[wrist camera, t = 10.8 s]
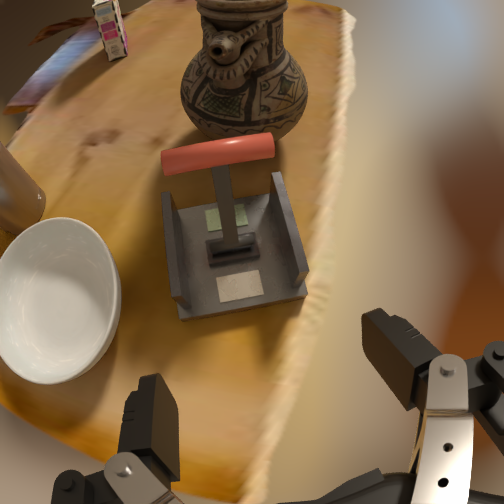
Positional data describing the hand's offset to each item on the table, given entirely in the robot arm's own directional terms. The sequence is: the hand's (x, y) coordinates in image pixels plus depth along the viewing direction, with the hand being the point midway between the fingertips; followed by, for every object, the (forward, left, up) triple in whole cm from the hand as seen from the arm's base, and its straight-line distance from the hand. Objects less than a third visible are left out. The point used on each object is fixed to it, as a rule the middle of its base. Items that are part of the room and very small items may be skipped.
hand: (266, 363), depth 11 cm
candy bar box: (-19, +73, -25) cm, 79 cm away
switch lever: (0, +14, -21) cm, 25 cm away
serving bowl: (-23, +11, -25) cm, 36 cm away
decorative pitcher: (+6, +35, -25) cm, 44 cm away
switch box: (0, +14, -25) cm, 29 cm away
